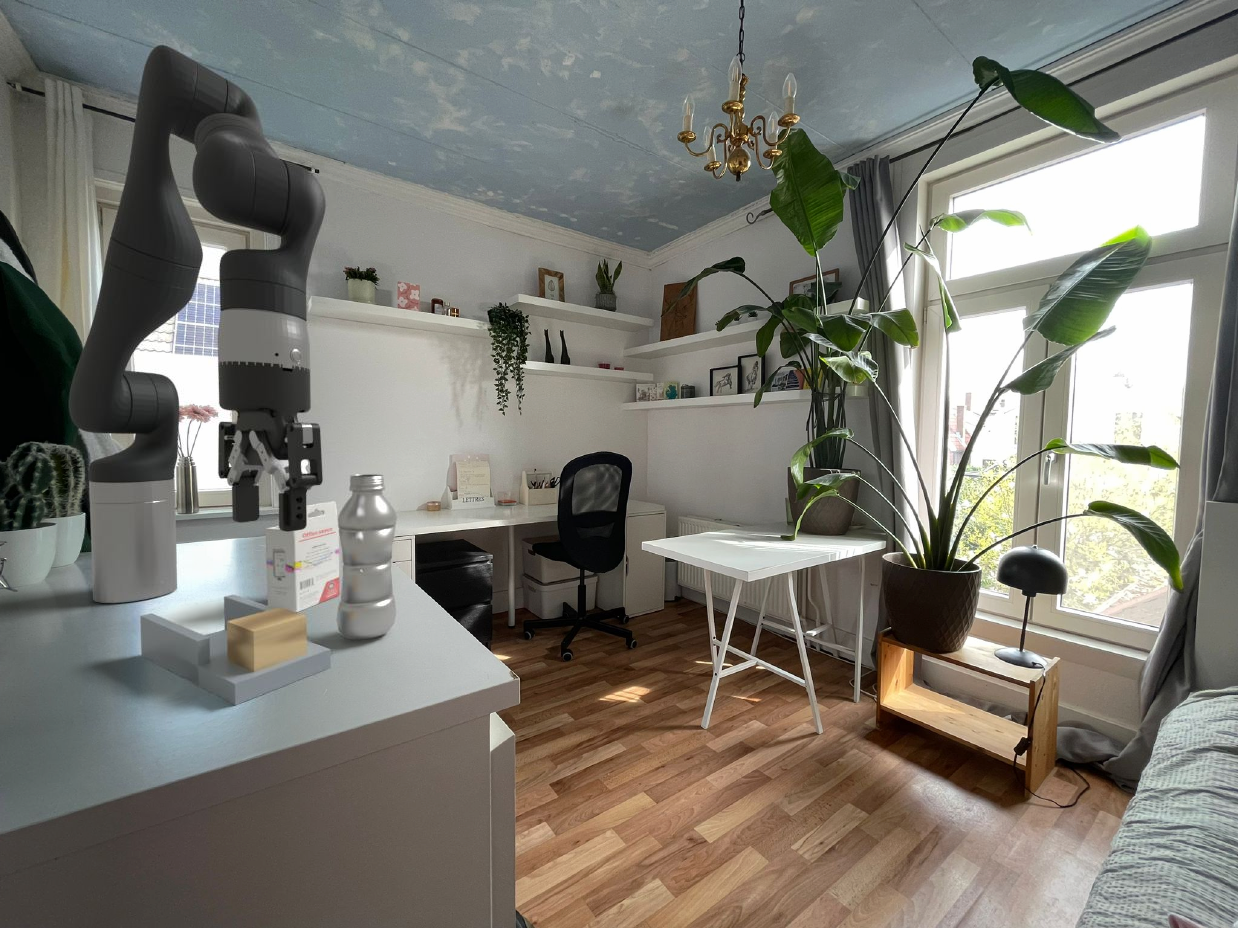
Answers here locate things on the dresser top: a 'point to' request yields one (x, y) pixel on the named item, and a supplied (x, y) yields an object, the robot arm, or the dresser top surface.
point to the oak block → (266, 638)
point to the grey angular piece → (222, 656)
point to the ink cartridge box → (304, 561)
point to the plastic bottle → (366, 560)
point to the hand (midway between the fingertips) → (268, 525)
